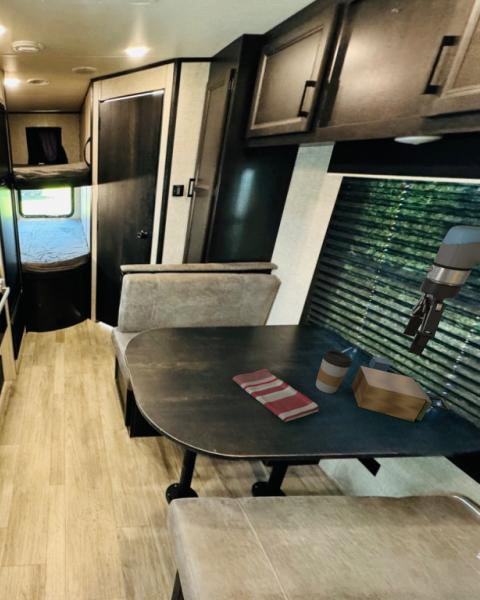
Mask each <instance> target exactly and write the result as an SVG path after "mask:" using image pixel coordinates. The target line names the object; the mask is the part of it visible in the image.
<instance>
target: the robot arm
mask: <svg viewBox="0 0 480 600" xmlns="http://www.w3.org/2000/svg"><path fill="white" fill-rule="evenodd" d="M476 264H477V265H480V226H473V225H455V226H452V227H451V228H449V230H448V232H447V233H446V234H445V237H444V238H443V240H442V241H441V244H440V246H439V249H438V251H437V253H436V255H435V257H434V260H433V262H432V264H431V266H430V267H429V266H428V267H427V268H426V271H428V272H427V274H426V278H424V279H423V282H422V284H421V285H420V288H419V290H420V291H421V292H422V293H423V294H422V295H421V296H420V298H419V300H418V301H417V302H416V304H415V305H414V307H413V308H412V309H411V312H412V313H411V316H410V318H409V320H408V322H407V324H406V326H405V329H404V331H403V332H402V335H403V336H404V335H405V336H408V337H409V336H410V337H413V341H412V343H411V344H410V347H409V348H408V350H407V353H409V354H413V355H416V356H422V355H423V352H424V350H425V349H426V347H427V345H428V343H429V341H430V339H431V338H432V339H434V338H435V337H436V334H437V331H438V328H439V326H440V323H441V320H442V317H443V314H444V312H445V309H446V308H447V304H446V303H445V302H444V301H445V299H454V298H457V297H458V295H459V294H460V292H461V290H462V288H463V286H462V285H463V284H465V283H466V282H467V280H468V278H469V276H470V274H471V272H472V271H473V268H474V266H475V265H476Z"/></svg>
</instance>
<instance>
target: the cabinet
mask: <svg viewBox="0 0 480 600" xmlns="http://www.w3.org/2000/svg"><path fill="white" fill-rule="evenodd" d="M416 382H417V381H415V379H414V377H411V376H407V375H403V374H398V373H393V372H389V371H387V372H385V371H381V370H376V369H372V368H370V367H369V366H368V367H367V366H363V365H360V366H359V369H358V371H357V372H356V375H355V376H354V379H353V381H352V384H351V389H352V392H353V395H354V398H355V401H356V403H357V406H358V407H359V408H362V409H365V410H370V411H373V412H377V413H380V414H385V415H388V416H390V417H391V416H392V417H395V418H399V419H402V420H406V421H409V422H415V420H417V419H416V417H417V415H418V414H419V412H420V410H421V409H422V407H423V405H424V404H425V402H426V400H427V399H426V398H425V396H424V395H423V393H422V392H421V390H420V388H419V387H418V385H417V384H416Z"/></svg>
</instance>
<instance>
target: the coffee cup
mask: <svg viewBox="0 0 480 600" xmlns="http://www.w3.org/2000/svg"><path fill="white" fill-rule="evenodd" d="M352 362H353V361H352V357H351V356H350V355H348V354H346V353H344V352H342V351H340V350H334V349H329V350H327V351H325V352H324V353H323V356H322V359H321V363H320V367H319V370H318V374H317V377H316V382H315V387H316V388H317V389H318V390H319V391H321V392H323V393H325V394H334V393H336V392H337V390H338V389H339V387H340V386H341V384H342V382H343V381H344V378H345V377H346V375H347V373H348V371H349V369H350V368H351V367H352Z"/></svg>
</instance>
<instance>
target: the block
mask: <svg viewBox="0 0 480 600" xmlns="http://www.w3.org/2000/svg"><path fill="white" fill-rule="evenodd" d="M368 367H369V368H372V369H376V370H381V371H385V372H389V369H390V367H391V363H390V361H389V360H388V358H383V357H380V356H373V355H372V357H371V359H370V361H369V363H368Z"/></svg>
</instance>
